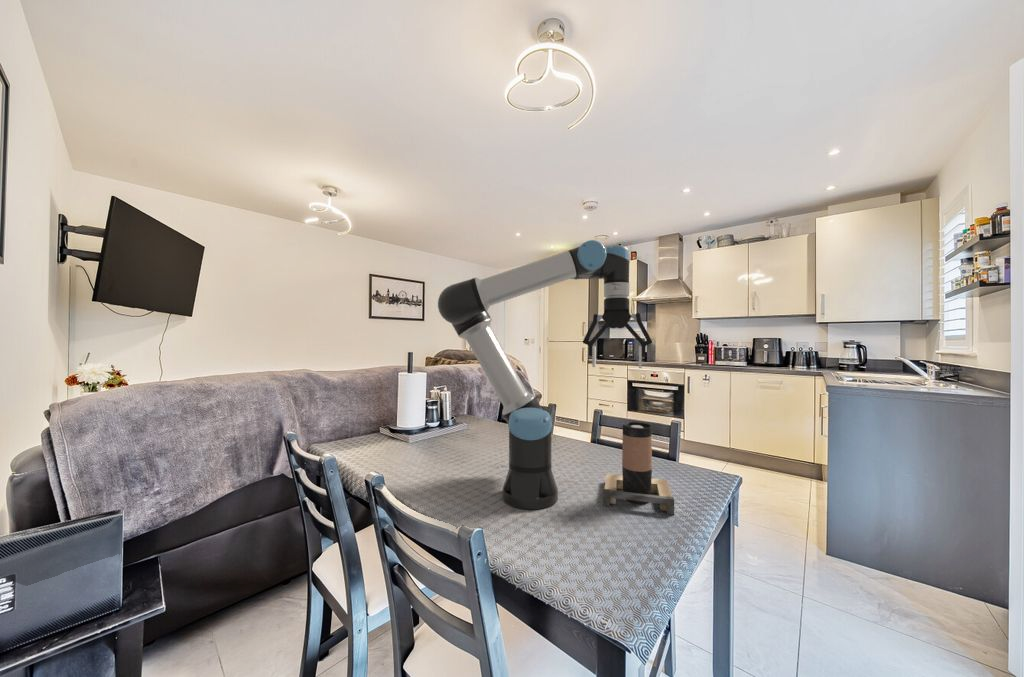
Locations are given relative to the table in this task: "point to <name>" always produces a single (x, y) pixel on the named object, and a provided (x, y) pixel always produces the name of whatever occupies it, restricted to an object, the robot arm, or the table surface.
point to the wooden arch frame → (656, 486)
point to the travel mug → (637, 459)
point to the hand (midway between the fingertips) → (616, 367)
